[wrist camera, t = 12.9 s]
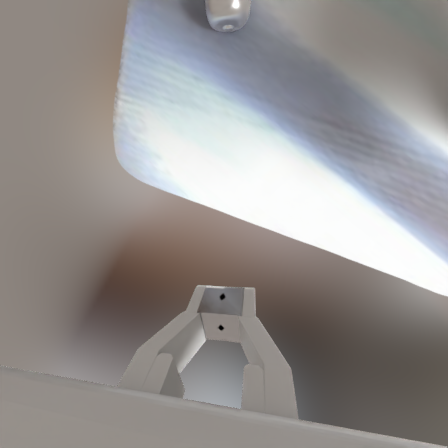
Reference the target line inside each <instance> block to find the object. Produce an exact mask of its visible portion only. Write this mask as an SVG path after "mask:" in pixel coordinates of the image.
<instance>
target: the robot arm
mask: <svg viewBox="0 0 448 448" xmlns="http://www.w3.org/2000/svg"><path fill="white" fill-rule="evenodd" d="M206 339H212V340H225V341H231V342H238V343H241V345H242V347H243V350H244V352H245V354H246V356H247V359H248V361H249V363H250V364H247V365H246V366H245V367H244V376H243V390H242V405H241V409H237V408H232V407H227V406H221V405H215V404H210V403H205V402H199V401H194V400H188V399H183V396H184V393H185V388H184V385H183V383H182V380H181V378H180V375H179V374H180V372H181V371H182V370H183V369H184V367H185V366H186V365H187V363H188V362H189V361H190V360H191V359H192V357H193V356H194V355H195V354H196V352H197V351H198V350H199V349H200V347H201V346H202V345H203V344H204V342H205V341H206ZM0 448H448V447H446V446H441V445H435V444H430V443H424V442H419V441H413V440H407V439H402V438H397V437H391V436H386V435H380V434H375V433H369V432H364V431H358V430H353V429H347V428H342V427H336V426H331V425H325V424H320V423H314V422H308V421H303V420H299V418H298V412H297V405H296V398H295V391H294V385H293V378H292V371H291V368H290V366H289V365H288V363H287V362H286V360H285V359H284V357H283V356H282V354H281V353H280V351H279V349H278V348H277V347H276V345H275V343H274V342H273V340H272V339H271V337H270V336H269V334H268V333H267V331H266V330H265V328H264V327H263V325H262V323H261V322H260V321H259V319H258V318H256V304H255V288H243V287H218V286H202V285H198V286H197V287H196V288H195V290H194V293H193V296H192V298H191V300H190V303H189V305H188V307H187V310H186V312H182V313H181V314H180V315H178V316H177V317H176V318H175V319H173V320H172V321H171V322H170V323H169V324H167V325H166V326H165V327H164V328H163V329H161V330H160V331H159V332H158V333H156V334H155V335H154V336H153V337H152V338H150V339H149V340H148V341H147V342H146V343H144V344H143V345H142V346H141V347H140V348H138V350H137V352H136V354H135V355H134V357H133V359H132V361H131V362H130V364H129V366H128V368H127V370H126V371H125V373H124V375H123V376H122V378H121V380H120V382H119V384H118V385H117V387H116V386H111V385H105V384H100V383H94V382H88V381H83V380H78V379H72V378H67V377H61V376H56V375H50V374H45V373H39V372H34V371H28V370H23V369H17V368H12V367H6V366H1V365H0Z"/></svg>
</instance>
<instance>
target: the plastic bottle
mask: <svg viewBox="0 0 448 448" xmlns="http://www.w3.org/2000/svg"><path fill="white" fill-rule="evenodd" d="M205 7H206V13H207V19H208V21H209V23H210V25H211V27H212V28H213V29H214V30H216V31H220V32H233V31H237V30H239V29H241V28H243V27H244V26H245V25H246V23H247V20H248V18H249V15H250V7H251V0H205Z"/></svg>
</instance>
